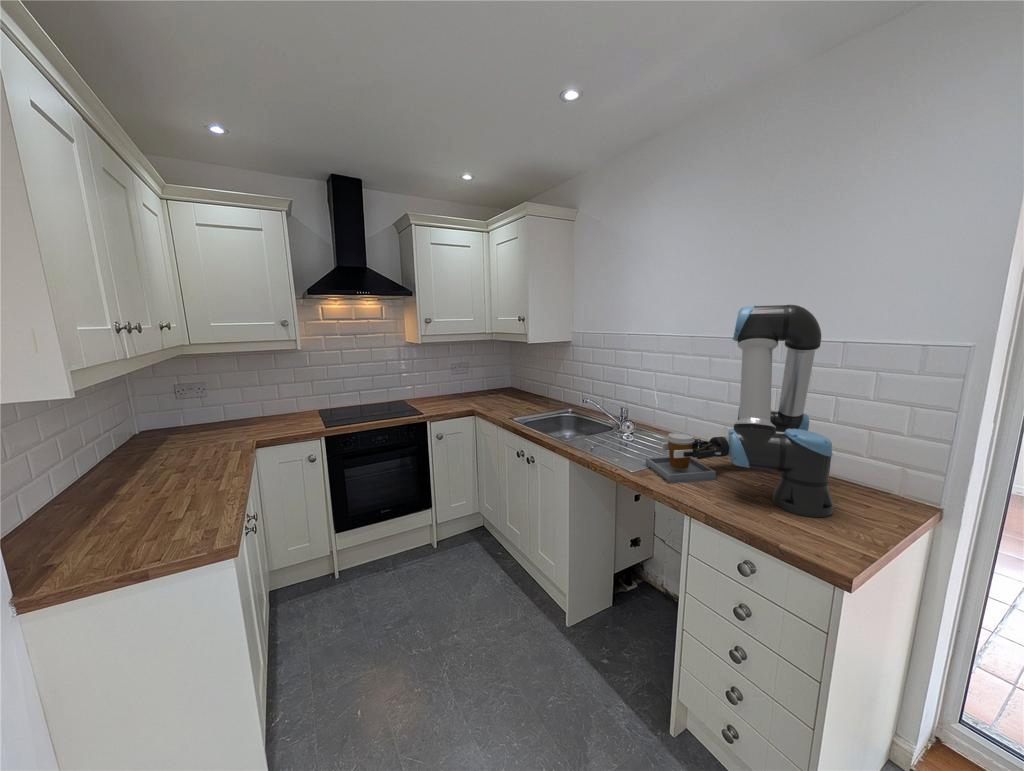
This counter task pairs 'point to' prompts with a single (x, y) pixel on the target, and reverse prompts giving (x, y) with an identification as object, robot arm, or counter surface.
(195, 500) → the counter surface
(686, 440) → the disposable coffee cup
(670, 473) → the tray
